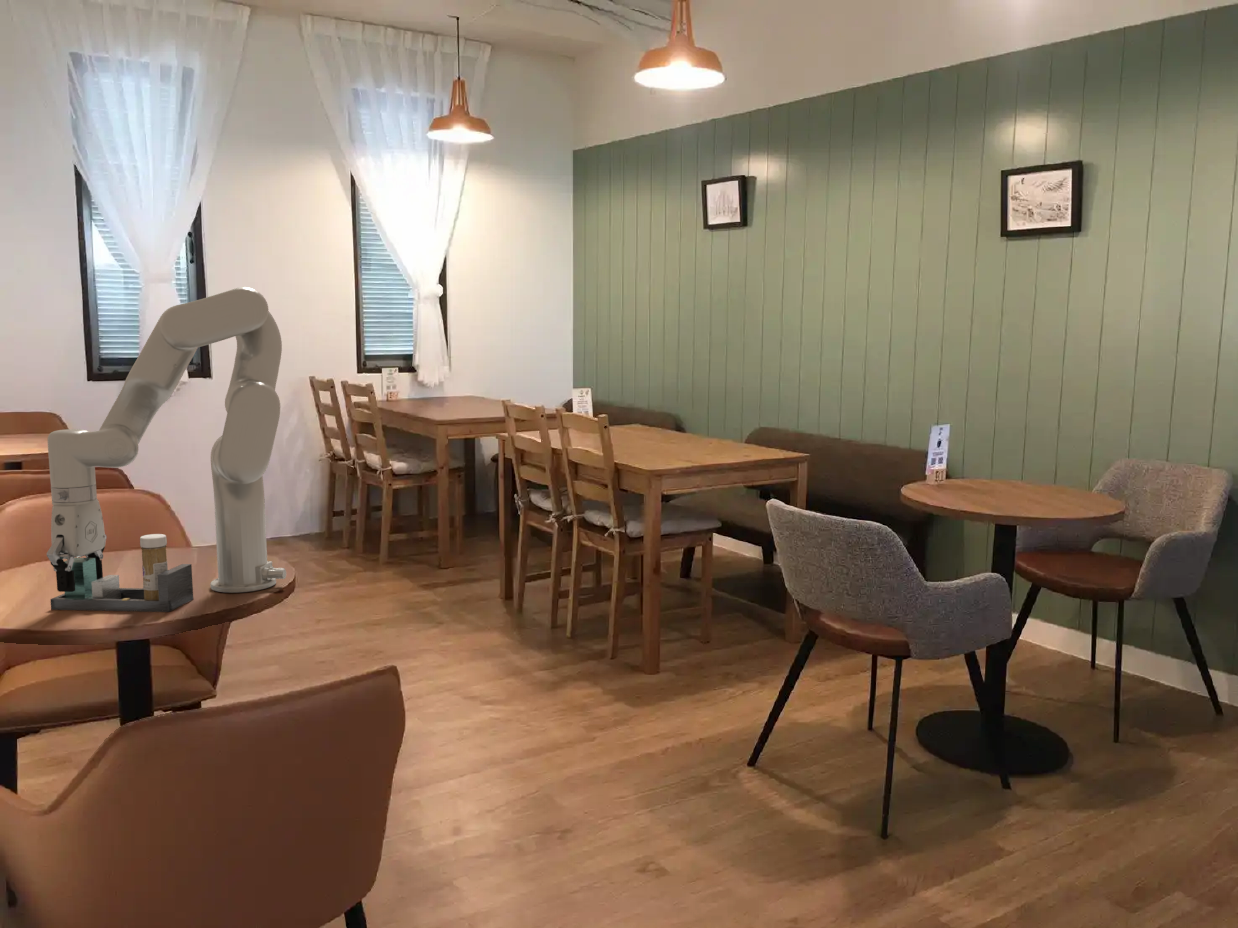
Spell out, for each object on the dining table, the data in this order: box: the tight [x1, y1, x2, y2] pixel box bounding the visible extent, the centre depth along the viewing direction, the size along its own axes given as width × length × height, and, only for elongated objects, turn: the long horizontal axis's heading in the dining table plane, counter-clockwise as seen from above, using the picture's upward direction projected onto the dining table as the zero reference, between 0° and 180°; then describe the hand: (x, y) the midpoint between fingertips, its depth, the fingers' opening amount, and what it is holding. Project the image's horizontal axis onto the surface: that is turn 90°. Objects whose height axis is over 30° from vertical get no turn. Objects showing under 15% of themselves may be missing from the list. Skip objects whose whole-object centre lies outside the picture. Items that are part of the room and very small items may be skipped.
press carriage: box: [63, 557, 121, 599], centre depth 192 cm, size 8×6×8 cm
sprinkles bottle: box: [139, 533, 169, 600], centre depth 190 cm, size 5×5×13 cm
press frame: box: [49, 563, 194, 613], centre depth 191 cm, size 23×9×7 cm, turn 85°
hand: (80, 585), depth 192 cm, fingers open, 8 cm apart
